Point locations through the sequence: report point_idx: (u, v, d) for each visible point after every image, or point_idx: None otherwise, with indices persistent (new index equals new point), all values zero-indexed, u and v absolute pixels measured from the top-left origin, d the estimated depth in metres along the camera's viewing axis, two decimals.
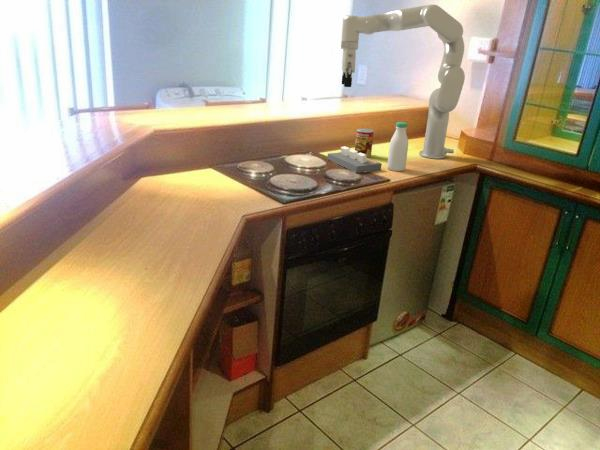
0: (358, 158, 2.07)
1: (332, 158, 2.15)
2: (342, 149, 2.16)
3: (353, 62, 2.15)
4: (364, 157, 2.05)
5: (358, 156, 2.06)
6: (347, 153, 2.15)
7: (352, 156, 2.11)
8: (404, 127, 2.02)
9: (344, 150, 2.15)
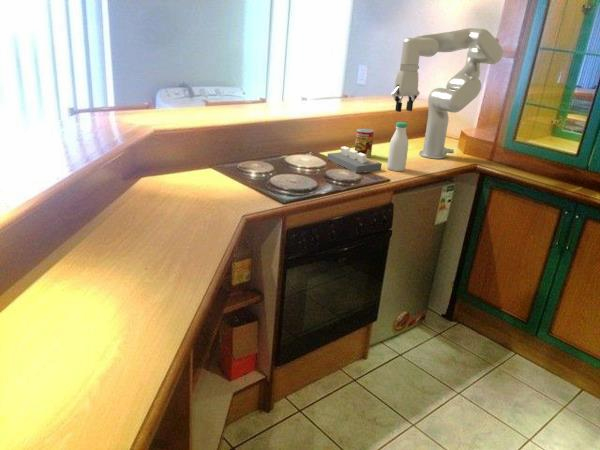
0: (358, 158, 2.07)
1: (332, 158, 2.15)
2: (342, 149, 2.16)
3: None
4: (364, 157, 2.05)
5: (358, 156, 2.06)
6: (347, 153, 2.15)
7: (352, 156, 2.11)
8: (404, 127, 2.02)
9: (344, 150, 2.15)
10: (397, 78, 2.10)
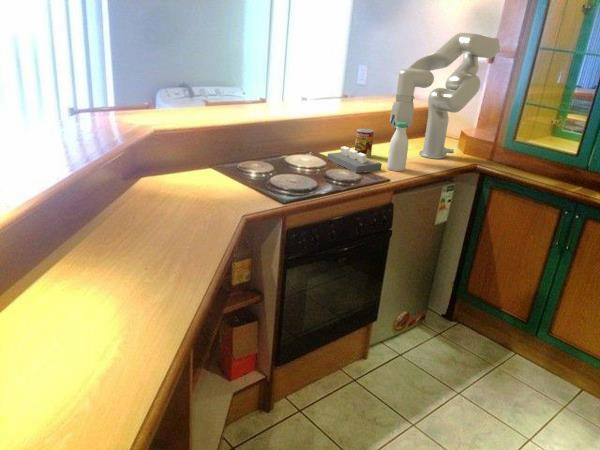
0: (358, 158, 2.07)
1: (332, 158, 2.15)
2: (342, 149, 2.16)
3: None
4: (364, 157, 2.05)
5: (358, 156, 2.06)
6: (347, 153, 2.15)
7: (352, 156, 2.11)
8: (404, 127, 2.02)
9: (344, 150, 2.15)
10: (393, 108, 2.15)
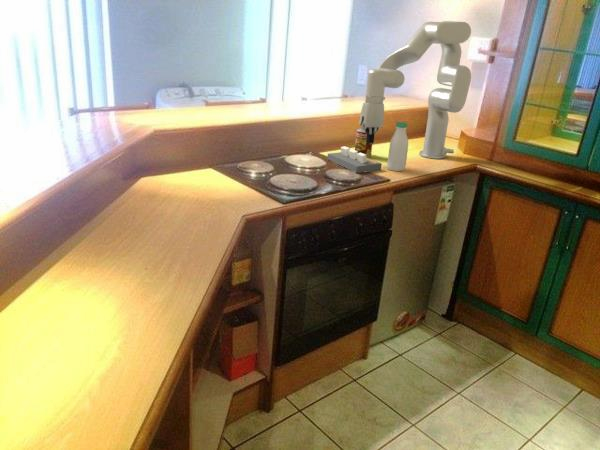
0: (358, 158, 2.07)
1: (332, 158, 2.15)
2: (342, 149, 2.16)
3: None
4: (364, 157, 2.05)
5: (358, 156, 2.06)
6: (347, 153, 2.15)
7: (352, 156, 2.11)
8: (404, 127, 2.02)
9: (344, 150, 2.15)
10: (362, 110, 2.07)
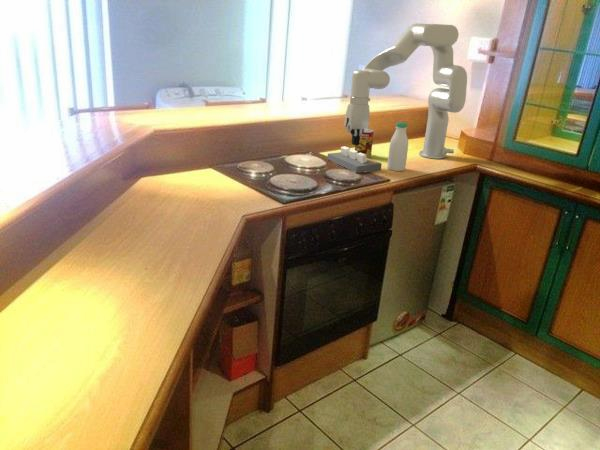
0: (358, 158, 2.07)
1: (332, 158, 2.15)
2: (342, 149, 2.16)
3: None
4: (364, 157, 2.05)
5: (358, 156, 2.06)
6: (347, 153, 2.15)
7: (352, 156, 2.11)
8: (404, 127, 2.02)
9: (344, 150, 2.15)
10: (347, 111, 2.03)
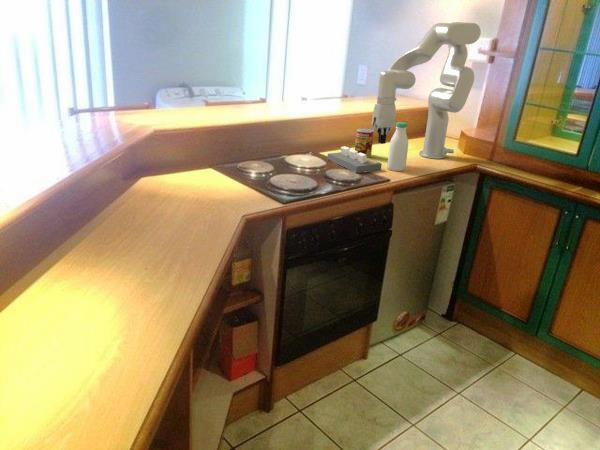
0: (358, 158, 2.07)
1: (332, 158, 2.15)
2: (342, 149, 2.16)
3: None
4: (364, 157, 2.05)
5: (358, 156, 2.06)
6: (347, 153, 2.15)
7: (352, 156, 2.11)
8: (404, 127, 2.02)
9: (344, 150, 2.15)
10: (374, 111, 2.10)
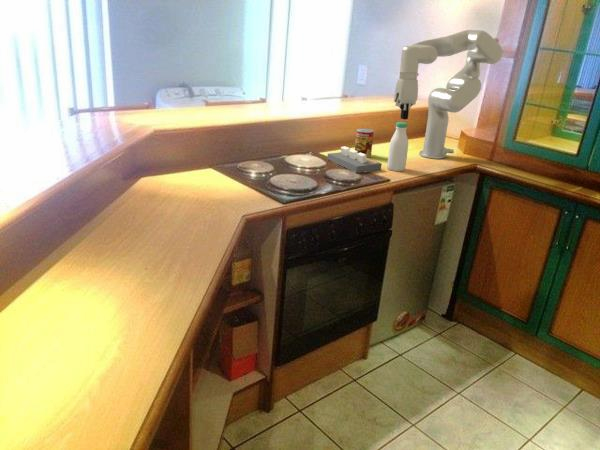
0: (358, 158, 2.07)
1: (332, 158, 2.15)
2: (342, 149, 2.16)
3: None
4: (364, 157, 2.05)
5: (358, 156, 2.06)
6: (347, 153, 2.15)
7: (352, 156, 2.11)
8: (404, 127, 2.02)
9: (344, 150, 2.15)
10: (397, 86, 2.11)
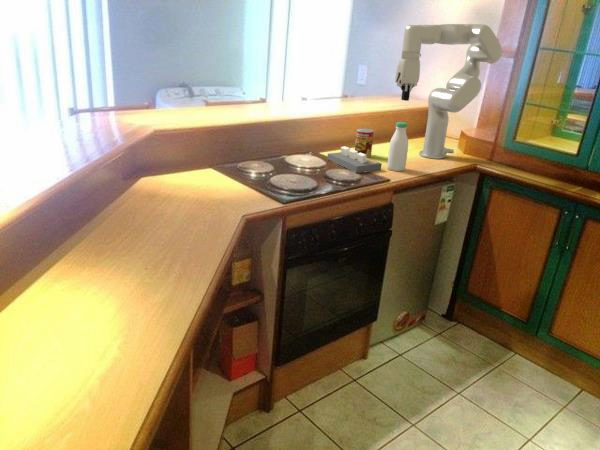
0: (358, 158, 2.07)
1: (332, 158, 2.15)
2: (342, 149, 2.16)
3: None
4: (364, 157, 2.05)
5: (358, 156, 2.06)
6: (347, 153, 2.15)
7: (352, 156, 2.11)
8: (404, 127, 2.02)
9: (344, 150, 2.15)
10: (398, 66, 2.08)
